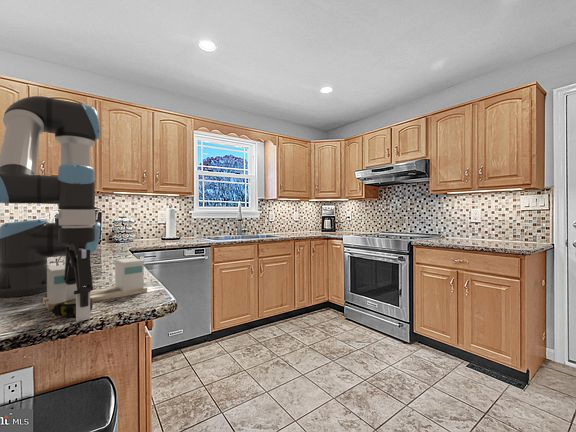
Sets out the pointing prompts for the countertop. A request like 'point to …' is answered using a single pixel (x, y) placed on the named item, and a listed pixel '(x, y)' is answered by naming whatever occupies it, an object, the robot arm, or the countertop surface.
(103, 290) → the rail board
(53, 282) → the mounted modules
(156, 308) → the countertop surface
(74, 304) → the tape measure
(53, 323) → the countertop surface
